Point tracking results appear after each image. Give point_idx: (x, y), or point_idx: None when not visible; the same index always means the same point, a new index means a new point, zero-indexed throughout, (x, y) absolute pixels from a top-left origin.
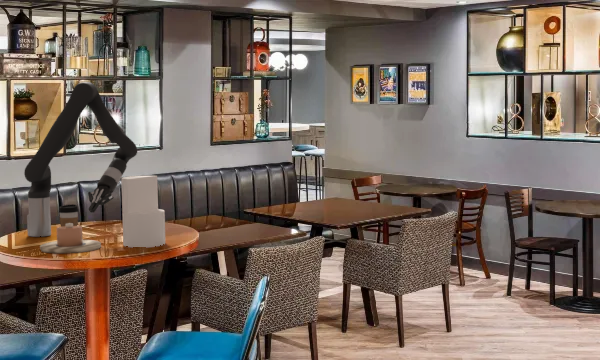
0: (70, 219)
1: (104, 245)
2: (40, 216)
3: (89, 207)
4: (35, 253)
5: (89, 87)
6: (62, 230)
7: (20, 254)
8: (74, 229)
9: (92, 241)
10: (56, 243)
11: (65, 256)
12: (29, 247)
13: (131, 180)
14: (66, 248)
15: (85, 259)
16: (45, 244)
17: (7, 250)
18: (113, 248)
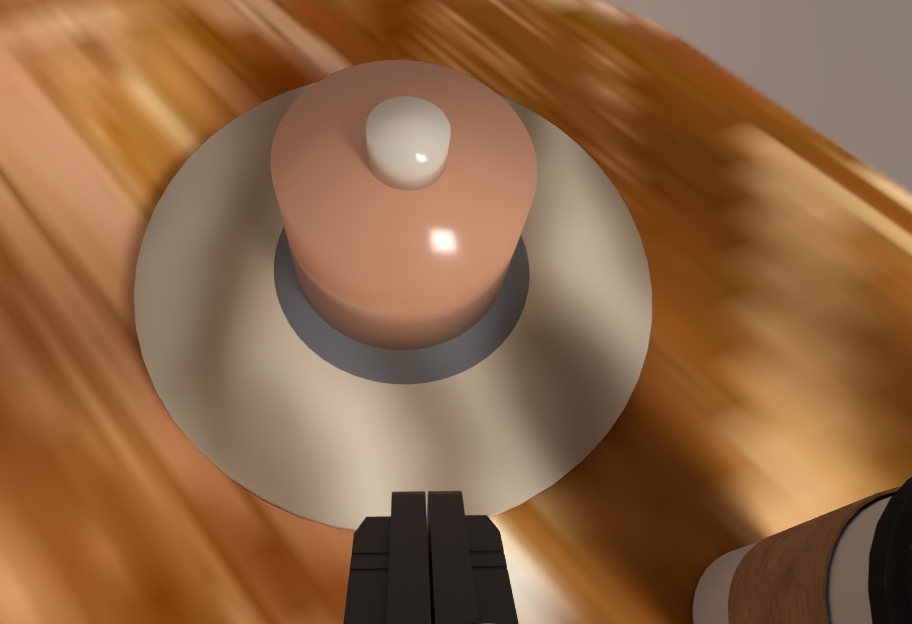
0: (818, 544)
1: (192, 504)
2: None
3: (494, 541)
4: (482, 59)
5: None
6: (388, 68)
7: (540, 16)
8: (289, 111)
9: (319, 462)
10: (551, 258)
11: (214, 39)
12: (713, 200)
13: None
14: None
15: (10, 2)
16: (592, 197)
17: (731, 82)
18: (6, 401)
